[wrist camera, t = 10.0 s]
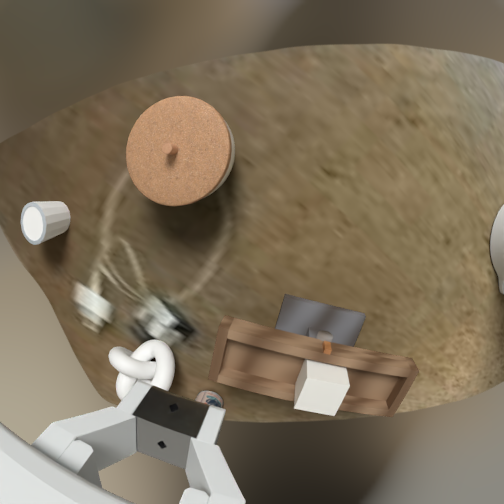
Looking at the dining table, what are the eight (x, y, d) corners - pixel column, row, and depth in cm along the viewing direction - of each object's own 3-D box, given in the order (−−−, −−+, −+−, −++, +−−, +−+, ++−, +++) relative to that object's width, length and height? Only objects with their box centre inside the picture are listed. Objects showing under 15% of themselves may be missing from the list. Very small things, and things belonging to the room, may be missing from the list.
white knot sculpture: (188, 393, 51) (172, 426, 42) (129, 380, 52) (107, 408, 44) (184, 340, 48) (163, 370, 39) (120, 329, 50) (93, 353, 41)
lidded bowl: (156, 199, 43) (116, 207, 33) (159, 114, 40) (119, 98, 30) (242, 201, 42) (223, 210, 31) (245, 109, 39) (228, 87, 28)
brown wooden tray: (403, 322, 42) (425, 357, 32) (373, 384, 45) (385, 426, 35) (239, 281, 44) (222, 311, 34) (223, 351, 47) (205, 390, 37)
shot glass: (46, 197, 46) (19, 201, 39) (72, 197, 45) (44, 202, 39) (47, 235, 48) (21, 243, 41) (73, 238, 47) (47, 246, 40)
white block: (344, 362, 36) (349, 385, 31) (331, 390, 37) (334, 415, 32) (306, 353, 36) (307, 377, 31) (295, 383, 37) (294, 408, 32)
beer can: (229, 404, 50) (213, 452, 38) (208, 411, 51) (190, 458, 39) (212, 385, 49) (192, 432, 38) (192, 394, 50) (169, 439, 39)
